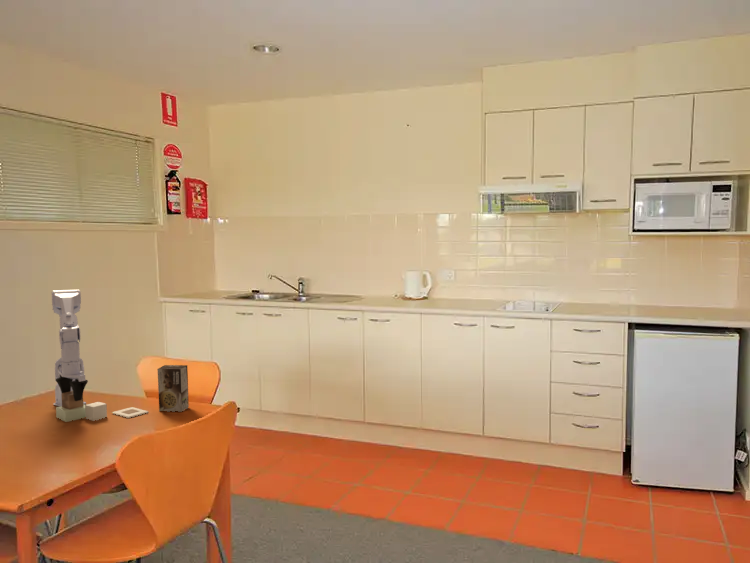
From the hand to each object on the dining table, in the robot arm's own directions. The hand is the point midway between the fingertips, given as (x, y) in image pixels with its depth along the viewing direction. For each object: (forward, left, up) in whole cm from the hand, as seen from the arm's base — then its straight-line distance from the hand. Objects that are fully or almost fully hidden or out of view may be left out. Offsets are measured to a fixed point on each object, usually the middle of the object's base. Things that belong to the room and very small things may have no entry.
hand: (72, 398), depth 210 cm
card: (+13, +14, -7) cm, 20 cm away
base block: (0, 0, -7) cm, 7 cm away
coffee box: (+22, +26, -7) cm, 35 cm away
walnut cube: (0, 0, -3) cm, 3 cm away
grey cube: (+8, +4, -7) cm, 11 cm away
